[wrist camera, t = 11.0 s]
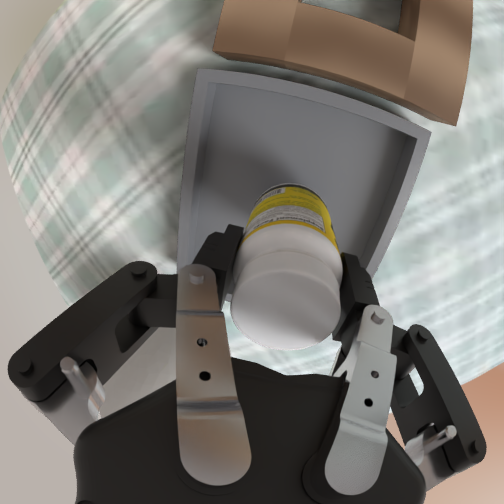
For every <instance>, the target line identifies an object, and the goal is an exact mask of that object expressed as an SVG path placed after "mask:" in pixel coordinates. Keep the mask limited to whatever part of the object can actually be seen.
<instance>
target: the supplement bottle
mask: <svg viewBox="0 0 504 504" xmlns="http://www.w3.org/2000/svg"><path fill="white" fill-rule="evenodd" d="M342 275H343V268H342V261H341V257H340V253H339V249H338V244H337V241H336V237H335V233H334V230H333V226H332V223H331V219H330V215H329V212H328V209H327V206H326V204H325V202H324V201H323V199H322V198H321V197H320V196H319V195H318V194H317V193H316V192H315V191H314V190H312V189H310V188H309V187H306V186H304V185H301V184H296V183H284V184H279V185H276V186H273V187H271V188H269V189H268V190H266V191H265V192H264V193H263V194H262V195H261V196H260V197H259V198H258V199H257V201H256V203H255V205H254V207H253V209H252V212H251V215H250V218H249V221H248V223H247V226H246V229H245V231H244V234H243V237H242V239H241V242H240V245H239V247H238V250H237V253H236V256H235V260H234V265H233V278H234V283H235V287H234V291H233V295H232V299H231V305H230V311H231V316H232V319H233V321H234V323H235V325H236V327H237V328H238V329H239V330H240V331H241V333H242V334H243V335H245V336H246V337H247V338H248V339H250V340H251V341H253V342H255V343H257V344H259V345H262V346H264V347H267V348H272V349H277V350H299V349H304V348H307V347H310V346H313V345H315V344H318V343H320V342H321V341H323V340H324V339H325V338H327V337H328V336H329V335H330V334H331V333H332V332H333V330H334V329H335V327H336V326H337V324H338V321H339V319H340V311H341V306H340V291H339V288H340V285H341V282H342Z"/></svg>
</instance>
